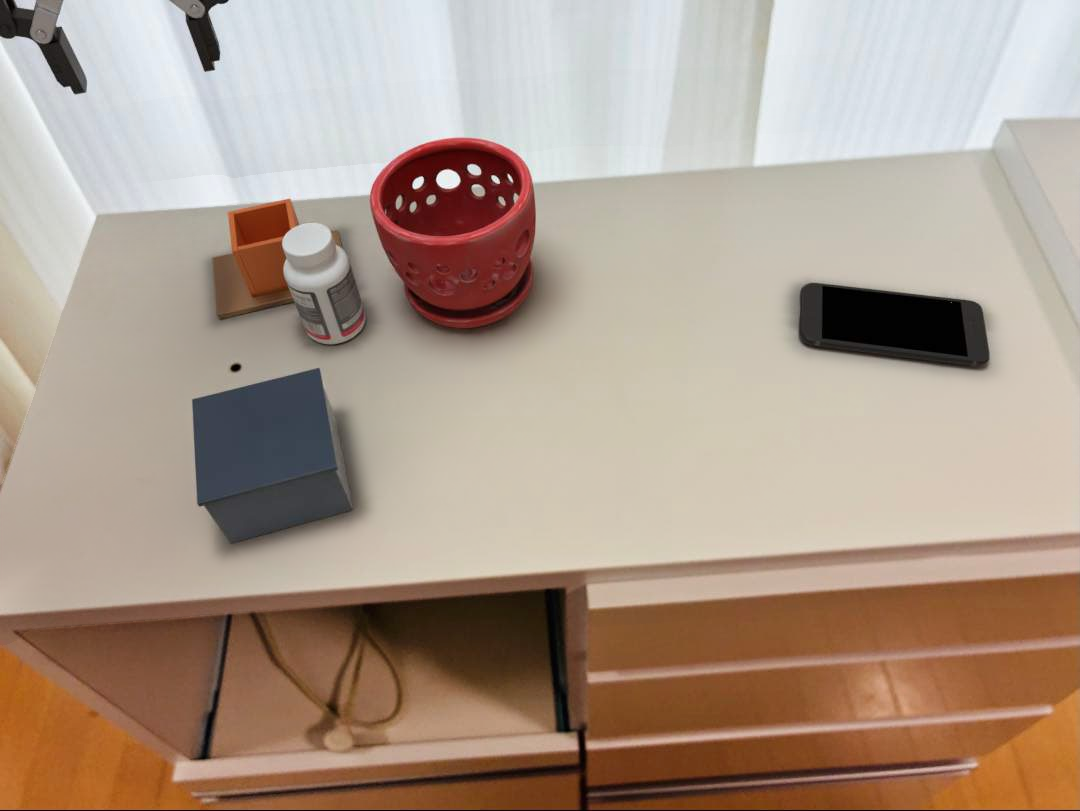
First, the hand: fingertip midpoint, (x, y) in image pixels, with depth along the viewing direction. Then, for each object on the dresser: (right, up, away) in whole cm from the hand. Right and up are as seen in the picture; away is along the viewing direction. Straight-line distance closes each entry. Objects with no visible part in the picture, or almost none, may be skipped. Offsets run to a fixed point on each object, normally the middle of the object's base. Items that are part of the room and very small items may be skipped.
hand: (146, 76), depth 57 cm
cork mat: (+3, -10, +20) cm, 23 cm away
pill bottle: (+9, -16, +16) cm, 24 cm away
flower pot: (+21, -13, +18) cm, 30 cm away
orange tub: (+3, -10, +20) cm, 22 cm away
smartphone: (+57, -16, +13) cm, 60 cm away
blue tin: (+8, -28, +6) cm, 30 cm away
